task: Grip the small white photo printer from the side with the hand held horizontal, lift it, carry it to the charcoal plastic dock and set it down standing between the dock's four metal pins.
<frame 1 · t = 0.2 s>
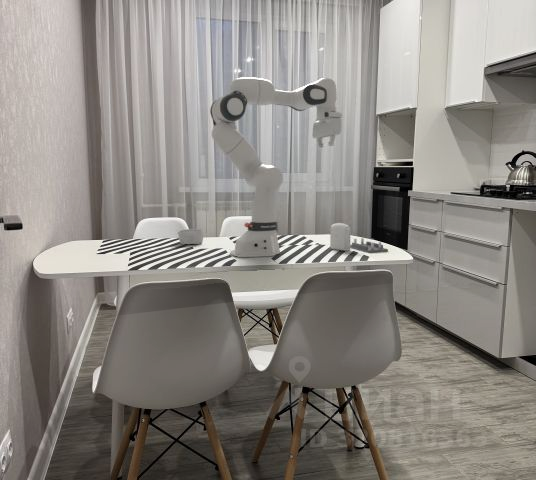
hand: (325, 146, 216), 47 cm above the table, tool pointing down, fingers open, 8 cm apart
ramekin: (191, 244, 242), on the table
dock: (367, 249, 219), on the table
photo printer: (340, 250, 218), on the table
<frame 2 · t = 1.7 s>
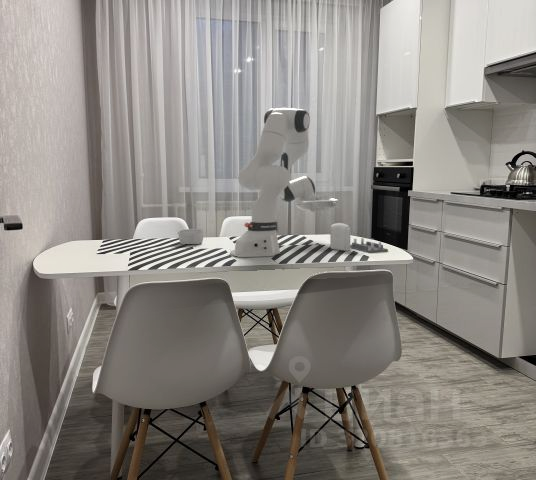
hand: (326, 205, 227), 20 cm above the table, tool horizontal, fingers open, 8 cm apart
nothing on the table moved.
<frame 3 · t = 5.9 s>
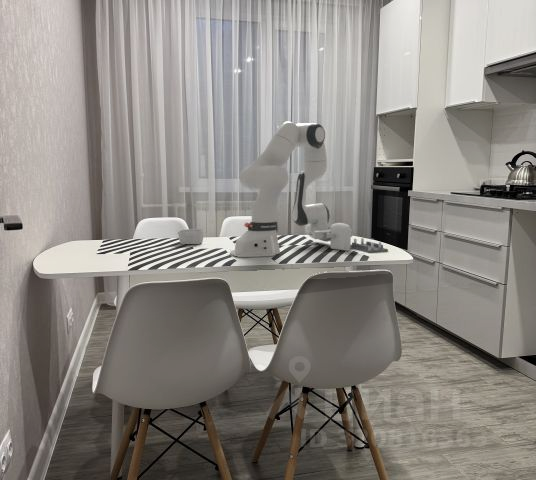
hand: (340, 235, 217), 7 cm above the table, tool horizontal, fingers closed on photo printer, 5 cm apart
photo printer: (340, 250, 218), on the table, touching gripper
everything else where it was.
when the fingers open (8 cm above the table, at t = 10.4 s): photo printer stays where it is, resting on dock.
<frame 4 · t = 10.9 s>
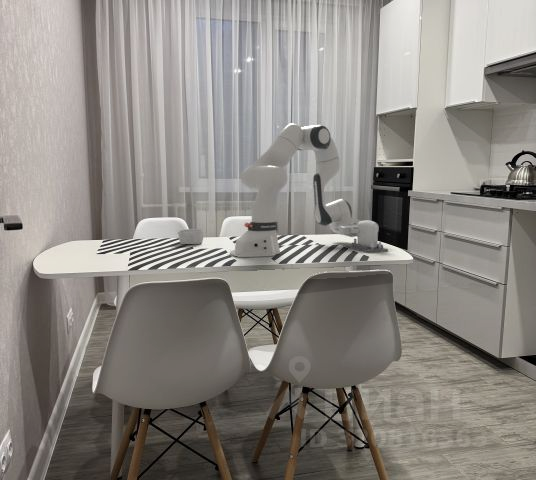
hand: (367, 231, 218), 8 cm above the table, tool horizontal, fingers open, 8 cm apart
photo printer: (367, 247, 219), point 1 cm above the table, touching dock
everything else where it was.
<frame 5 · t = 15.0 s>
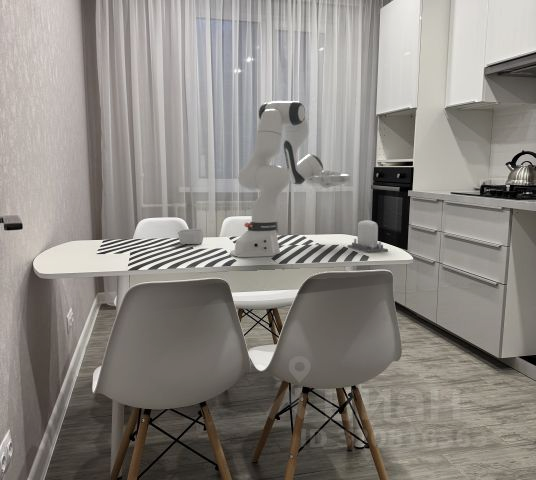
hand: (338, 179, 229), 32 cm above the table, tool horizontal, fingers open, 8 cm apart
nothing on the table moved.
at the end: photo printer 0.3 cm off-centre on the dock, point 0.8 cm above the dock's base; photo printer tilted 0°; the gripper is holding nothing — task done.
